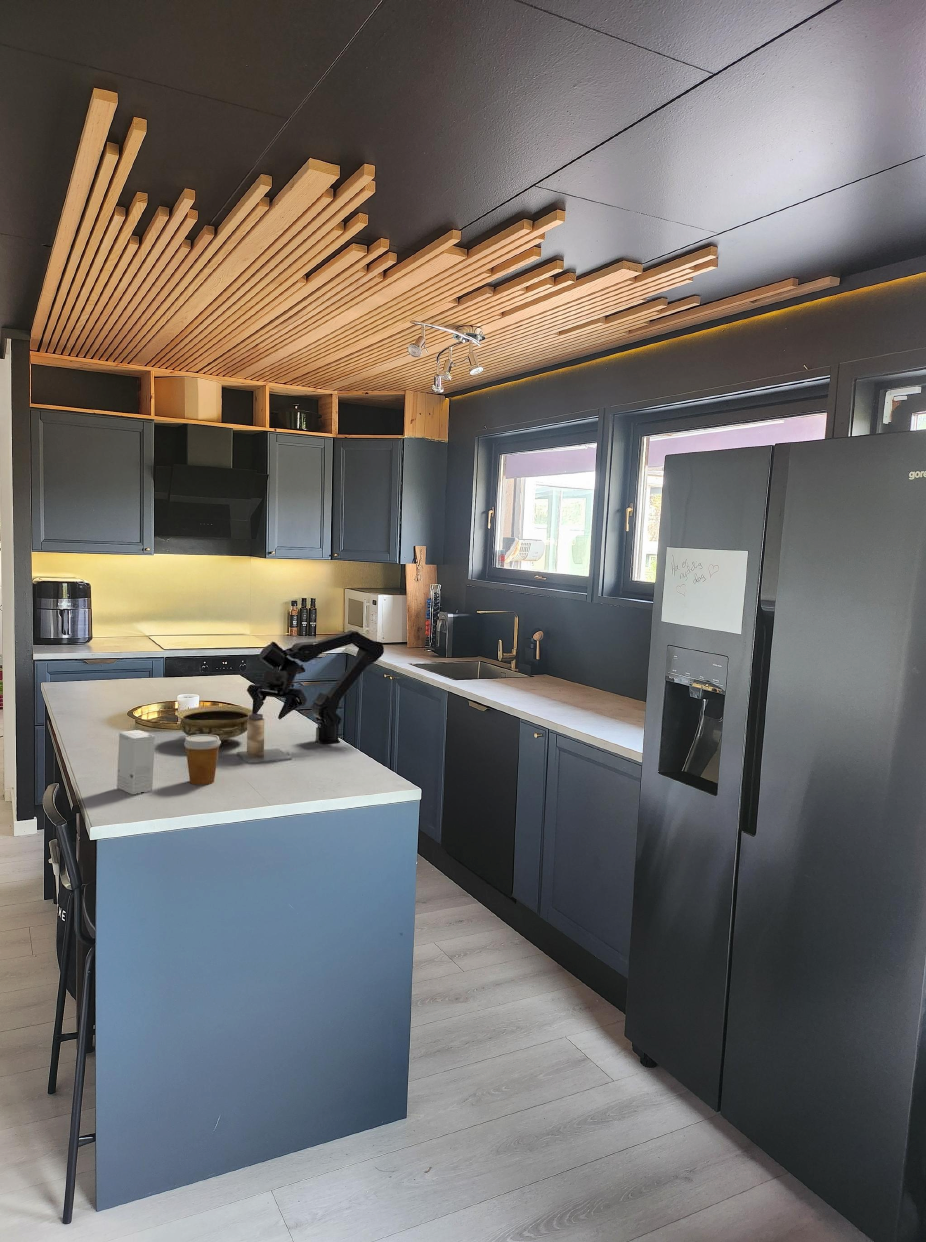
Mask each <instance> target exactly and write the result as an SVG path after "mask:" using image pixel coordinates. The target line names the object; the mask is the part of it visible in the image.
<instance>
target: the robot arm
mask: <svg viewBox="0 0 926 1242" xmlns="http://www.w3.org/2000/svg"><path fill="white" fill-rule="evenodd" d="M350 645H352V646H355V647H356V648H357V649H358V650H357V652H356V656H355V659H354V660H353V661H352V663H351V664H350V665H349V666H348V667H347V668H346V670H345V671H344V672H343V674H342V675H341V676H340V677H339V679H337V681H336V682H335V684H334V685H333V686H332V687H331V689H329V691H328V692H326V693H323V692H319V693H318V695H317V697H316V698H315V699H314V700H312V705H311V707H310V708H311V709H310V710H311V714H312V715H313V716H314V717H315V719H316V720H315V721H316V722H317V727H316V728H315V741H317V742H319V743H320V744H322V745H323V744H326V745H327V744H335V743H336V744H337V743H341V740H340V739H339V731H340V725H341V722H342V720H343V719H342V717H341V716H340V715H339V714H338V713H337V711H338V710H339V706H340V702H341V700H342V699H343V697H344V696H345V695H346V693H348V691H349V690H350V688H351V687H352V686H353V685H354V684H355V682H356V681H357V680H358V679H359V677H360V676H361V675H362V674H363V672H365V670H366V668H367V667H369V666H371V665H372V664H374V663H376V662H377V661H378V660H379V659H381V657H382V656H383V655H384V653H385V647H384V644H383V643H381V641H376V640H373V639H371V638H369V637H367V636H365V635H363V634H361V633H360V632H359V631H356V630H352V629H350V630H347V631H346V632H345V631H344V632H343V633H338V634H336V635H333V636H329V637H326V638H323V639H320V640H316V641H303V642H296V643H294V644H292V646H291V647H289V648H285V649H283V648H282V647H281V646H280V645H279V644H278V643H277V642H275V641H271V642H270V643H269V644H267V645H266V646H265V647H264V648H262V650H261V651H260V652H259V655H258V658H259V659H260V660H261V661H262V662H264V663H265V664H266V665H268V666H269V667H270V668H272V669H276V668H278V671H277V672H276V671H272V670H271V671H269V670H264V671H263V674H262V679H261V682H264V683H266V685H265V686H266V688H269V689H265V688H264V687H263V686H262V684H255V683H253V684H249V685H248V686H247V689H246V692H247V693H248V695H249V697H250V698H251V699H252V708H251V709H252V714H259V711H260V710H261V708H262V707H263V706H264V704H265V700H266V699H267V697H268V698H276V699H283V700H284V703H283V705H282V707H281V709H280V711H279V713H278V716H277V718H278V720H282V719H284V717H286V716H287V715H288V714H290V713H291V712H293V711H294V710H296V709H298V708H301V707H304V706H305V705H306V703H307V696H306V695H305V694H304V692H303V690H302V688H294V687H295V684H294V681H295V679H296V678H297V675H301V674H303V673H306V668H305V667H304V665H303V664H299V663H298V662H301V663H308V662H310V661H313V660H314V659H316V658H318V657H319V656H320V655H322V654H324V653H326V652H330V651H333V650H336V649H340V648H342V647H346V646H350ZM297 661H298V662H297ZM339 740H340V741H339Z"/></svg>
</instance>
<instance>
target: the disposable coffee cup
mask: <svg viewBox="0 0 926 1242" xmlns="http://www.w3.org/2000/svg"><path fill="white" fill-rule="evenodd" d="M220 744H221V741H220V739H219V737H218V736H216V735H209V734H200V735H192V736H188V735H187V736H186V738H185V740H184V742H183V745H184V747H185V752H186V761H187V767H188V768H187V769H188V776H189V777H188V778H189V783H190V784H191V783H192V784H191V785H195V784H196V785H197V786H201V785H202V786H205V785H209V784H212V783H214V782H215V778H216V770H217V765H218V756H219V750H220V746H221V745H220Z"/></svg>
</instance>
